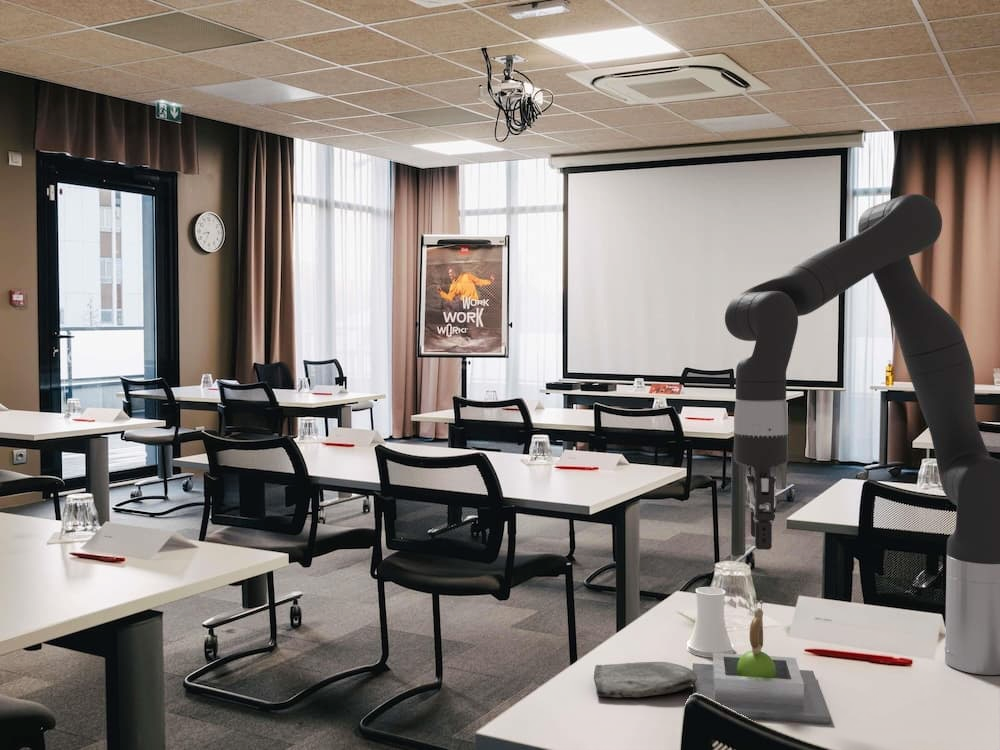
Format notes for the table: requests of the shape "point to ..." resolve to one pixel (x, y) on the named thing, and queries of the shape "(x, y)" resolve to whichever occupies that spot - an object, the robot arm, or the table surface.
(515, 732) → the table surface
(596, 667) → the stone
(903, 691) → the table surface
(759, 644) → the snail figurine
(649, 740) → the table surface
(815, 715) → the collar block
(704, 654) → the white flared stand
